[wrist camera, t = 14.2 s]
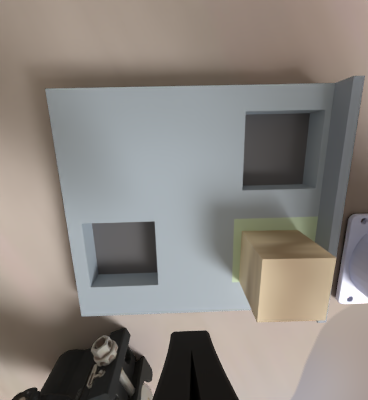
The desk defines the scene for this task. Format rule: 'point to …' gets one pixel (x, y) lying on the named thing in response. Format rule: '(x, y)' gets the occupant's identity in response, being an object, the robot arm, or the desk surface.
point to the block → (285, 276)
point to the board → (195, 184)
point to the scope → (97, 373)
